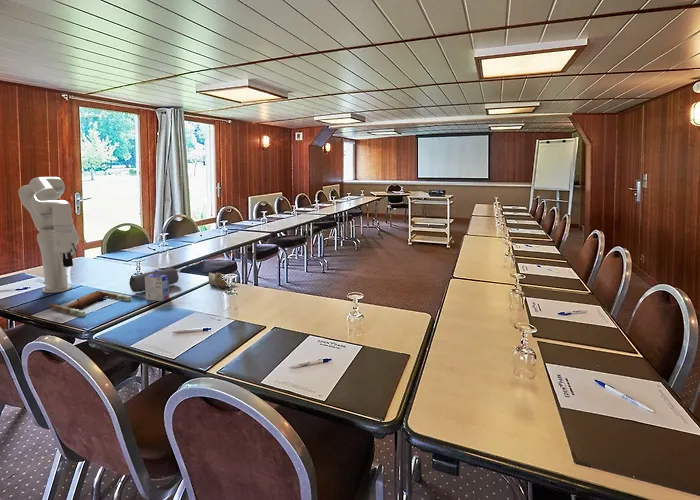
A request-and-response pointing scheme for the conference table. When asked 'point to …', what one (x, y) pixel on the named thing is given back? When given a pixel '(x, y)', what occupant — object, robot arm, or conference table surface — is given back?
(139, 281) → the bluetooth speaker
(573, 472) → the conference table surface
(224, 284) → the ceramic sculpture
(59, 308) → the beige rail frame
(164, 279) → the ink cartridge box
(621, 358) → the conference table surface
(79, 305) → the brown bottle
